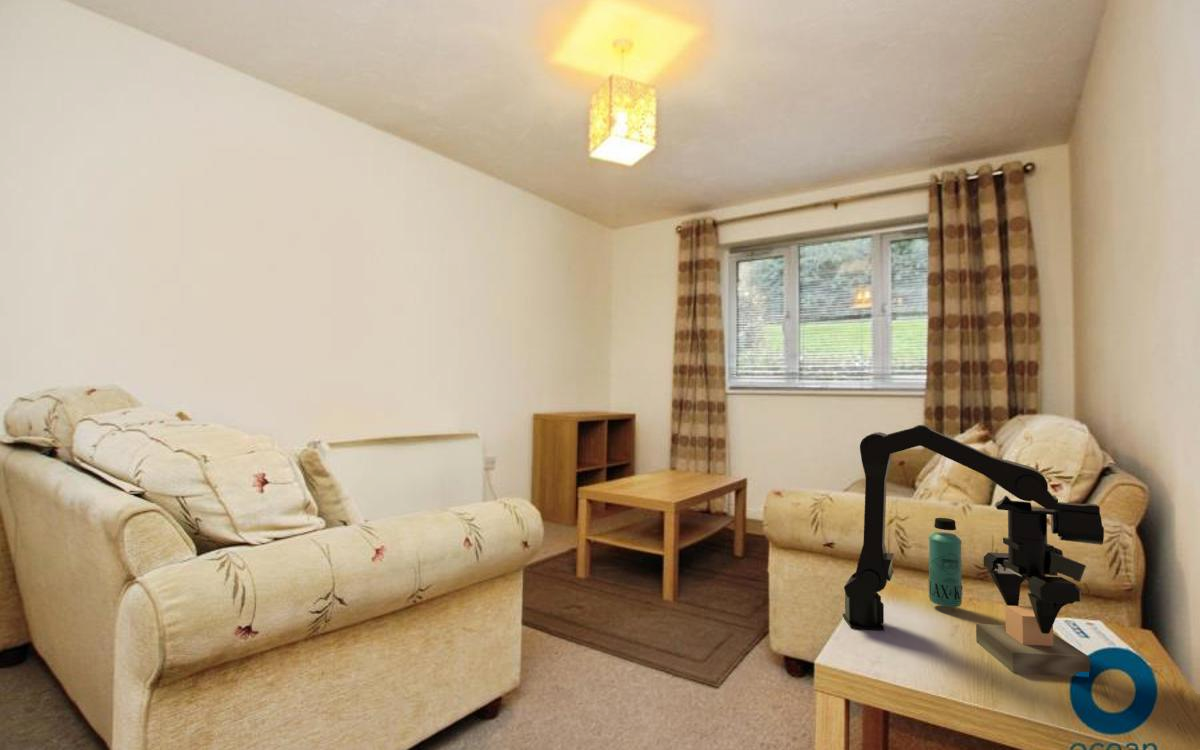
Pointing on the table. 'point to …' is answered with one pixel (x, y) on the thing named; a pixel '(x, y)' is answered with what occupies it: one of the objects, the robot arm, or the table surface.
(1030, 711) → the table surface
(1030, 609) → the terracotta cube
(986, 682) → the table surface
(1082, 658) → the dark box
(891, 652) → the table surface
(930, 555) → the beverage bottle
